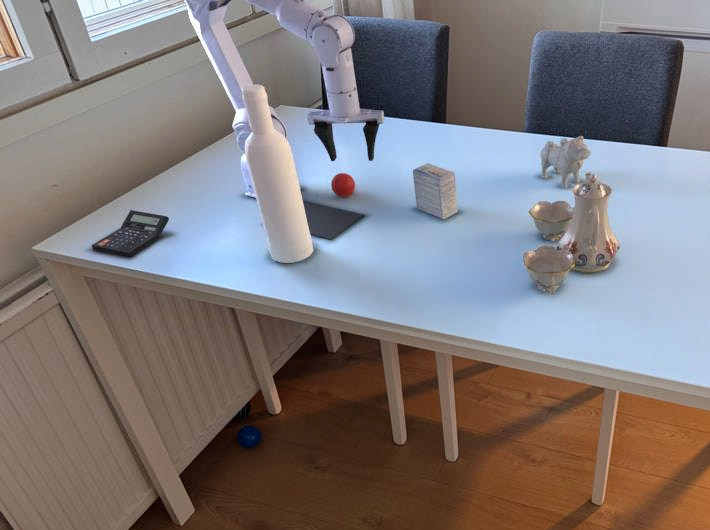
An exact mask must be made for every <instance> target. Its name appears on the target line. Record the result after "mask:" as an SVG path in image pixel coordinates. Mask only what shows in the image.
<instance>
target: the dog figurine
mask: <svg viewBox="0 0 710 530" xmlns="http://www.w3.org/2000/svg"><path fill="white" fill-rule="evenodd" d="M591 154H592V151H591V150H590V149H589V148H588V146H587V144H586V143H585V142H584V136H583V135H579V136H577V137H573V138H572V139H570V140H568V139H567V138H565V137H563V138H561V139H560V141H559V144H558V143H555V142H554V141H551V140H548V141H546V143H545V144H544V146H543V148H542V149H541V150H540V152H539V156H540V160H541V163H540V166H541V178H542V179H548V178H549V176H548V174H547V170H548V168H550V167H552V168H553V173H554V174H560V178H561V179H560V181H561V182H560V187H561V188H563V189H566V188H568V187H569V185H568V181H569V178H570V175H571V174H572V181H573V183H575V184H580V182H581V180H580V176H579V175H580V170H581V169H582V167H583V165H584V160H587V159H588V158H589V157H590V156H591Z"/></svg>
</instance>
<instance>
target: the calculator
mask: <svg viewBox="0 0 710 530" xmlns="http://www.w3.org/2000/svg"><path fill="white" fill-rule="evenodd" d="M169 220H170V218H169V217H168V216H167V215H162V214H156V213H150V212H146V211H145V212H144V211H139V210H134V209H130V210H129V212H128V214H127V215H126V217H125V219H124V221H123V223H122V224H121V226H120V227H119V228H118V229H116V230H115V231H112V232H111V233H109V234H107V235H106V236H104V237H103V238H101V239H100V240H98V241H96V242H95V243H93V244H91V248H92V250H94V251H100V252H104V253H109V254H114V255H118V256H119V255H120V256H124V257H129V258H130V257H132V256H134V255H135V254H137V253H139V252H140V251H142V250H143V249H145V248H146V247H148V246H149V245H151V244H153V243H154V242H155V241H157V240H158V239H160V237H161V235H162V233H163V232H164V229H165V228H166V226H167V224H168V222H169Z"/></svg>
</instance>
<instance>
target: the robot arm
mask: <svg viewBox="0 0 710 530" xmlns="http://www.w3.org/2000/svg"><path fill="white" fill-rule="evenodd" d="M243 1H244V2H246V3H248V4H250V5H253V6H254V7H257V8H258V9H261V10H263V11H264V12H267V13H269V14H270V15H273V16H275V17H276V19H277V21H278V24H279V25H280V27H281V28H283V29H285V30H287V32H290V33H291V34H293V35H295V36H297V37H299V38H301V39H303V40H304V41H306V42H308V43H310V45H311V47H312V49H313V50H314V52H315V53H316V54H317V56H318V59H319V64H320V65H321V69H322V75H323V76H322V77H323V80H324V86H325V93H326V98H327V104H328V109H324V110H316V111H315V110H314V111H308V113H307V115H306V118H307V122H308V125H309V126H314V128H313V132H314V134H315V135H316V136H317V137H318V139H319V140H320V142H321V143H322V146H323V147H324V148H325V151H326V152H327V154H328V156H329V159H330V161H331V162H335V161H336V159H337V156H338V155H337V150H336V145H335V140H334V130H333V124H364V126H363V127H362V131H363V135H364V139H365V143H366V150H367V159H368V161H369V162H372V161H374V159H375V146H376V145H375V144H376V140H377V136H378V131H379V127H380V125H383V124H384V123H385V112H384V110H380V109H379V110H374V109H368V108H367V109H366V108H360V107H361V106H360V101H359V94H358V86H357V81H356V74H355V68H354V61H353V53H352V48H351V47H352V46H353V45H354V43H355V41H356V39H355V38H356V32H355V29H354V26H353V24H352V22H350V21H349V19H347V18H346V17H345V16H344V15H343V14H341V13H335V14H333V15H330V14H328V13H329V12H328V11H327V10H326V9H319V8H317V7H315V6H314V5H312V4H310V3H308V2H307V1H305V0H243ZM232 2H233V0H184V3H185V4H186V7H187V11H188V16H189V19H190V22H191V24H192V26H193V28H194V30H195V32H196V35H197V36H198V39H199V40H200V42H201V44H202V46H203V49H204V50H205V52H206V54H207V56H208V58H209V60H210V62H211V64H212V66H213V68H214V71H215V72H216V74H217V77H218V79H219V80H220V82H221V85H222V86H223V88H224V90H225V93H226V94H227V97H228V99H229V100H230V102H231V104H232V106H233V109H234V111H235V116H234V119H233V121H232V130H233V131H234V133H235V137H236V143H237V146H238V148H239V150H240V152H242V156H241V160H240V168H241V172H242V176H243V179H244V183H245V187H246V190H247V191H246V192H245V193H244V194H245V196H247V197H251V198H255V199H256V196H255V192H254V189H253V185H252V181H251V177H250V173H249V170H248V166H247V162H246V158H245V142H246V140H247V139H248V137H249V136H250V134H251V133H252V130H251V126H250V122H249V118H248V115H247V111H246V107H245V103H244V101H243V99H242V89H243V87H245V86H248V85H254V82H253V81H252V78H251V76H250V74H249V72H248V70H247V68H246V65H245V63H244V62H243V59H242V57H241V55H240V53H239V51H238V49H237V47H236V45H235V43H234V40H233V38H232V37H231V34H230V32H229V30H228V28H227V26H226V23H225V21H224V18H225V15H226V12H227V9H228V6H229V5H231V3H232ZM269 110H270V114H271V118H272V123H273V127H274V129H275V130H276V131H278V132H279V133H281V134H282V135H284V136H285V138H286V139H287V140H288V137H289V136H288V135H289V134H288V133H289V132H288V129H287V126H286V124H285V123H284V122H283V120H282V119H281V118H280V117H279V116H278V114H277V113H276V111H275V109H274V107H272V106H271V105H269ZM299 186H300V185H299ZM301 189H302V186H300V190H301Z"/></svg>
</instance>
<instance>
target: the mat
mask: <svg viewBox="0 0 710 530" xmlns="http://www.w3.org/2000/svg"><path fill="white" fill-rule="evenodd" d="M302 200H303V205H304V209H305V214H306V218H307V223H308V228H309V232H310V235H311V236H314V237H317V238H320V239H325V240H328V241H332V240H333V239H334V238H336V237H338V236H339V235H340V234H341V233H343V232H344V231H346V230H348V229H349V228H350V227H351V226H353V225H354V224H356V223H357V222H358V221H360V220H361V219H363V218H364V217H365V214H364V213H360V212H355V211H352V210H346V209H343V208H338V207H334V206H330V205H324V204H321V203H316V202H312V201H308V200H304V199H302Z"/></svg>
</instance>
